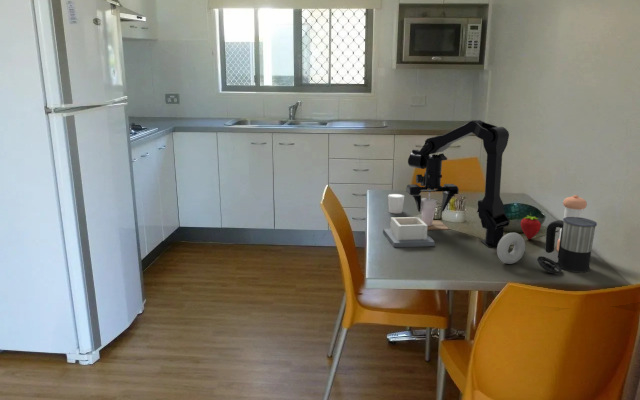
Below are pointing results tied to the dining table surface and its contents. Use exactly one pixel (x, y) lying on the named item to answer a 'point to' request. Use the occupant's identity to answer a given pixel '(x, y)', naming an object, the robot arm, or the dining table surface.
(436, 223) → the coaster
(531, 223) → the strawberry
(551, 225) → the milk frother
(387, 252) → the dining table surface
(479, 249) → the dining table surface
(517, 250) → the donut
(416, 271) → the dining table surface
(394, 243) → the white open box
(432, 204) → the smoothie
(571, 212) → the pepper shaker
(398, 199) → the shot glass
